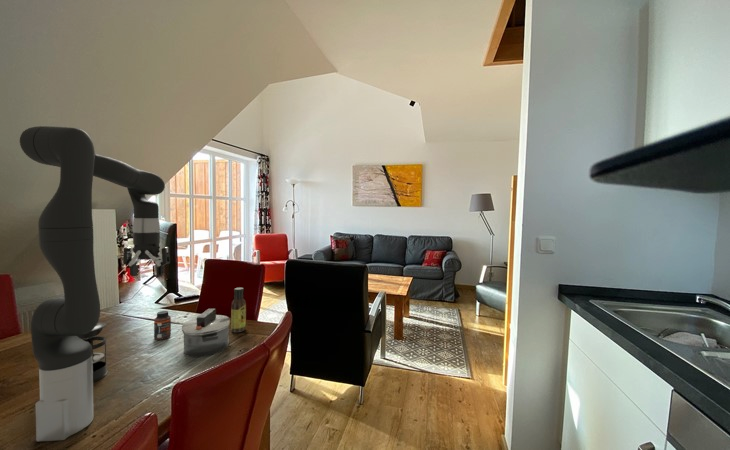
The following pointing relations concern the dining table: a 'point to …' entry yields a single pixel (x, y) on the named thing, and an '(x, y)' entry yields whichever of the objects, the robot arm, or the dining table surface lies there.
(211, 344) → the cooker pot
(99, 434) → the dining table surface
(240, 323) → the sauce bottle
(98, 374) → the french press
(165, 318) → the supplement bottle
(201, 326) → the cooker lid
